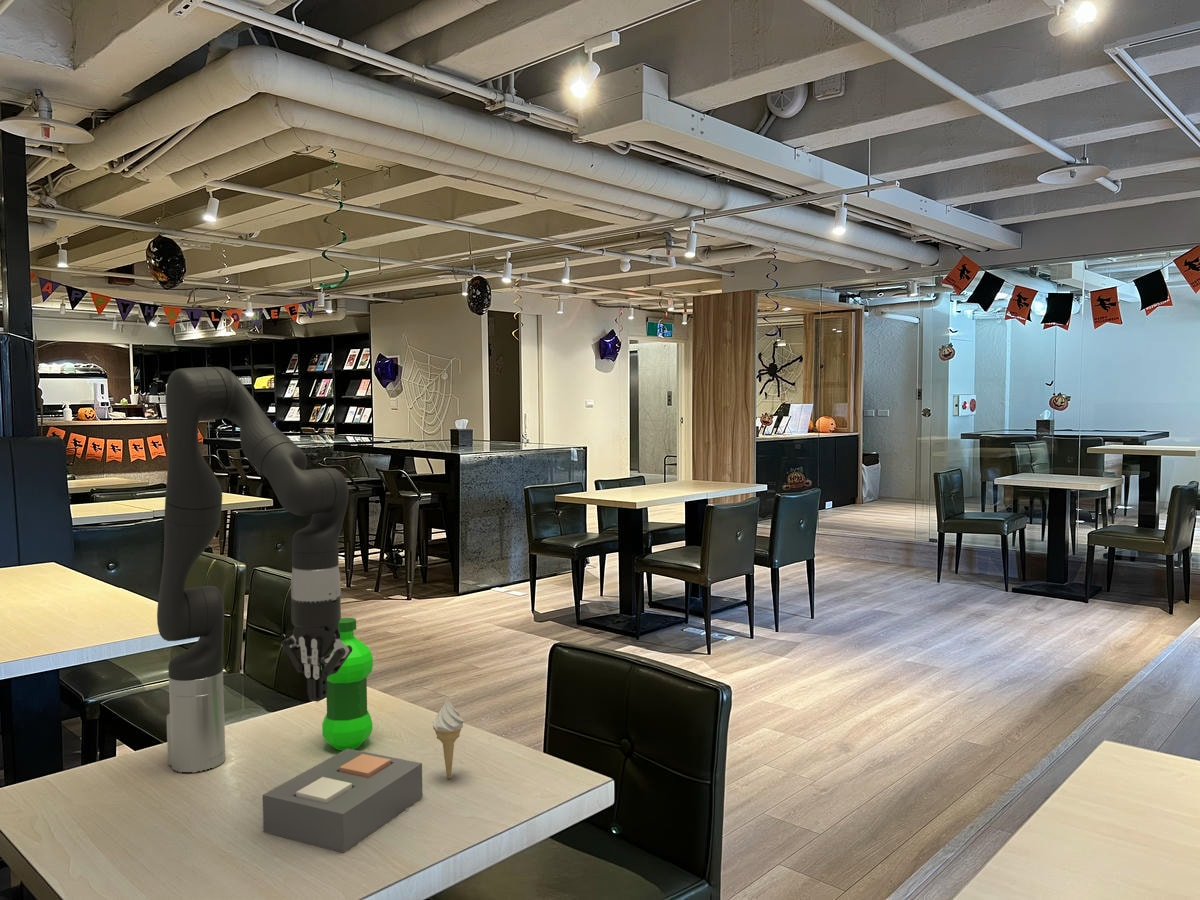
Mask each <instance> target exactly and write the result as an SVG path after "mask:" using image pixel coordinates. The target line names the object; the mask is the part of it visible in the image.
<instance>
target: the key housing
mask: <svg viewBox="0 0 1200 900" xmlns="http://www.w3.org/2000/svg"><path fill="white" fill-rule="evenodd" d="M362 754H366V755H371V756H376V757H381V758H386V759H391V765H389V766H387V767H386V768H384V769H383V770H381V771H379V772H378V773H376V774H374V775H373V776H371V777H370V778H366V777H361V776H356V775H352V774H347V773H342V772H339V767H340V766H342V765H344V764H346V763H347V762H349V761H351V760H353V759H355V758H356V757H358V756H360V755H362ZM322 777H325V778H330V779H334V780H339V781H344V782H348V783H352V789H350V790H348V791H347V792H345V793H343V794H342V795H340V796H338V797H337V798H335V799H334V800H332V801H330V802H329V803H327V804H325V803H321V802H316V801H312V800H308V799H303V798H299V797H296V792H297V791H299V790H300V789H302V788H304V787H306V786H308V785H309V784H311V783H313V782H315V781H316V780H318V779H320V778H322ZM422 798H423V763H421V762H417V761H412V760H407V759H402V758H397V757H392V756H387V755H383V754H377V753H372V752H367V751H363V750H362V751H361V750H357V749H348V748H347V749H346V750H343V751H340V752H338V753H337V754H334V755H333V756H331V757H329V758H328V759H326V760H323V761H322V762H320V763H318V764H317V765H315V766H313V767H311V768H309V769H307V770H305V771H304V772H302V773H300V774H298V775H296V776H294V777H292V778H291V779H289V780H287V781H285V782H283V783H282V784H279V785H277V786H276V787H273V789H270V790H269V791H267V792H265V793H263V794H262V798H261V799H262V821H263V822H262V829H263V833H266V834H270V835H273V836H276V837H277V836H278V837H282V838H286V839H289V840H293V841H297V842H300V843H304V844H309V845H312V846H315V847H316V846H317V847H320V848H324V849H327V850H332V851H336V852H339V853H343V854H344V853H346V852H347V851H349V850H350V849H352V848H353V847H354V846H356V845H357V844H359V843H360V842H361V841H363V840H364V839H366V838H367V837H368V836H370V835H371V834H373V833H374V832H376V831H378V829H380V828H382V827H383V826H384V825H385V824H387V823H388V822H390V821H391V820H393V819H394V818H395V817H397V816H399V815H400V814H401V813H403V812H404V811H405V810H407V809H409V808H410V807H411V806H413V805H414V804H416V803H417V802H418V801H420V800H422Z"/></svg>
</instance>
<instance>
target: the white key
mask: <svg viewBox="0 0 1200 900" xmlns="http://www.w3.org/2000/svg"><path fill="white" fill-rule="evenodd" d="M350 789H352V783H348V782H344V781H339V780H334V779H330V778H325V777H322V778H320V779H318V780H316V781H315V782H313V783H311V784H309V785H308V786H306V787H304V788H302V789H300V790H299V791H297V792H296V797H299V798H303V799H308V800H312V801H316V802H321V803H325V804H327V803H329V802H330V801H332V800H334V799H335V798H337V797H338V796H340V795H342V794H343V793H345V792H347V791H348V790H350Z"/></svg>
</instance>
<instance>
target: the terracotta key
mask: <svg viewBox="0 0 1200 900" xmlns="http://www.w3.org/2000/svg"><path fill="white" fill-rule="evenodd" d="M389 765H391V759H386V758H381V757H376V756H371V755H366V754H362V755H360V756H358V757H356V758H355V759H353V760H351V761H349V762H347V763H346V764H344V765H342V766H340V767H339V772H342V773H347V774H352V775H356V776H361V777H366V778H370V777H371V776H373V775H374V774H376V773H378V772H379V771H381V770H383V769H384V768H386V767H387V766H389Z"/></svg>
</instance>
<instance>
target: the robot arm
mask: <svg viewBox="0 0 1200 900" xmlns="http://www.w3.org/2000/svg"><path fill="white" fill-rule="evenodd" d="M165 412H166V413H165V414H166V415H165V416H166V418H165V419H166V431H167V433H166V434H167V438H166V439H167V469H166V470H167V474H166V475H167V476H166V489H165V501H164V524H163V525H164V530H163V531H164V536H163V537H164V540H163V544H164V545H163V560H162V570H161V577H160V578H161V579H160V584H159V585H160V586H159V592H158V598H157V599H158V601H157V609H156V611H157V612H156V622H157V628H158V633H159V635H160V637H161V638H162V639H163V641H166V642H177V641H184V640H190V639H195V638H198V640H197V641H196V642H195V643H194V644H193V645H192V646H191V647H189V648H188V649H187V650H185V651H183V652H182V653H180V654H177V655H176V656H174V657H173V658H172V659H170V661H169V663H168V667H167V669H168V692H169V713H167V714H166V741H167V743H166V745H167V746H166V747H167V748H166V749H167V765H168V766H171V769H172V770H173V769H174V770H176V771H175V772H177V771H178V772H177V773H182V772H192V773H195V772H194V771H200V772H202V771H201V770H205V771H208V770H207V769H209V770H211V769H210V768H212V769H214V768H217V767H218V766H220V765H222V764H223V763H224V762H225V761H226V731H225V730H226V729H225V728H226V727H225V697H224V695H225V694H224V692H225V691H224V664H223V663H224V634H225V633H224V628H225V604H224V598H223V594H222V593H221V591H220V589H219V588H218V587H217V586H215V585H205V586H197V587H190V588H185V585H186V583H187V579H188V576H189V574H190V572H191V570H192V568H193V567H194V565H195V563H196V562H197V560H198V559H199V557H201V555H202V554H203V553H204V552H205V550H206V549H207V548H208V546H209V545H210V544H211V542H212V541H213V539H214V538H215V536H216V534H217V533H218V531H219V529H220V526H221V522H222V521H221V520H222V505H223V491H222V487H221V484H220V482H219V480H218V479H217V476H216V474H215V473H214V471H213V470H212V469H211V468H210V466H209V464H208V463H207V461H206V460H205V458H204V456H203V455H202V452H201V449H200V446H199V445H200V443H199V435H198V434H199V424H200V422H202V421H203V422H205V421H211V420H212V421H214V420H216V421H217V420H222V419H227V420H228V421H231V422H232V423H233V424H235V425H237V427H239V429H240V434H239V435H240V436H239V440H240V447H241V450H242V453H243V455H244V457H245V458H246V459H247V460H248V462H249V463H250V464H251V465H252V466H253V467H254V468H255V469H256V470H257V471H259V472H260V474H262V475H263V476H264V477H265V478H266V479H267V480H268V482H269V484H270V486H271V488H272V490H273V492H274V494H275V496H276V497H277V498H276V499H277V500H278V502H279V504H280V505H281V507H282V508H283V509H284V510H286V511H287V512H289V513H290V514H293V515H296V516H308V515H310V516H311V515H312V518H311V521H310V523H309V524H308V525H307V526H305V527H303V528H301V529H299V530H297V531H296V532H295V533H294V534H293V536H292V541H291V555H292V556H291V559H292V560H291V561H292V569H291V578H290V598H291V599H290V602H291V603H290V605H291V606H290V609H291V610H290V611H291V617H290V618H291V623H292V625H293V626H294V628H293V631H292V635H290V636H289V638H285V639H283V640H282V641H281V645H282V648H283V649H284V651H285V653H286V655H287V657H288V658H289V659H290V661H291V663H292V665H293V667H294V669H295V670H296V672H297V673H302V674H303V675H304V676H305V677H306V687H307V688H306V690H307V691H306V693H307V696H308V701H312V702H317V703H318V702H320V701H323V700H325V698H326V697H327V677H328V676H330V675H332V674H335V673H337V672H338V670H339V669H340V668H341V666H342V665H343V663H344V662H345V660H346V659H347V658H348V656H349V655H350V653H351V652H352V647H351V646H350V645H348V646H345V645H344V644H343V642H342V641H341V640H340V637H341V635H340V632H339V629H338V624H339V621H340V619H341V618H342V606H341V605H342V604H341V601H342V600H341V593H342V591H341V589H342V588H341V574H340V568H339V567H340V566H339V565H340V564H339V563H340V560H339V557H340V556H339V555H340V554H339V538H340V535H341V531H342V527H343V524H344V520H345V519H344V518H345V517H346V513H347V507H348V503H349V498H350V493H349V492H350V491H349V486H348V482H347V480H346V477H345V476H344V475H343V473H342V472H341V471H340V470H338V469H336V468H332V467H327V468H326V467H323V468H317V469H316V468H314V469H313V468H312V469H307V467H308V458H307V456H306V454H305V452H304V451H303V450H302V448H300V447H299V446H298V445H297V444H295V442H294V441H293V440H291V439H290V438H289V437H288V436H286V434H285V433H283V432H282V431H281V430H280V429H279V428H278V427H277V426H276V425H274V423H273V422H272V421H271V419H270V418H269V417H268V416H267V415H266V414H265V412H264V411H263V409H262V408H261V406H260V405H259V404H258V402H257V401H256V400H255V398H254V397H253V395H252V394H251V393H250V392H249V390H248V389H247V388H246V386H245V385H244V384H243V382H242V381H241V380H240V379H239V378H238V377H237V375H236V374H234V373H233V372H232V371H231V370H229V369H228V368H225V367H221V366H206V367H205V366H204V367H203V366H202V367H201V366H200V367H186V368H185V367H183V368H178V369H175V370H173V371H172V372H171V374H170V375H169V376H168V379H167V383H166V389H165ZM332 651H333V652H332ZM332 655H333V656H332ZM321 666H322V669H321ZM174 770H173V771H174Z"/></svg>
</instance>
